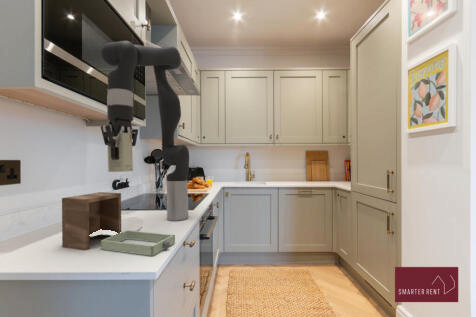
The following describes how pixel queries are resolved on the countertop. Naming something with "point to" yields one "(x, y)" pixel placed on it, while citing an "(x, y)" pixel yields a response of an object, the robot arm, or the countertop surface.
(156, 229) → the countertop surface
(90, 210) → the walnut shelf
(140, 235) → the sliding drawer
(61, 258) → the countertop surface
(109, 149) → the skincare box
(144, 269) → the countertop surface
